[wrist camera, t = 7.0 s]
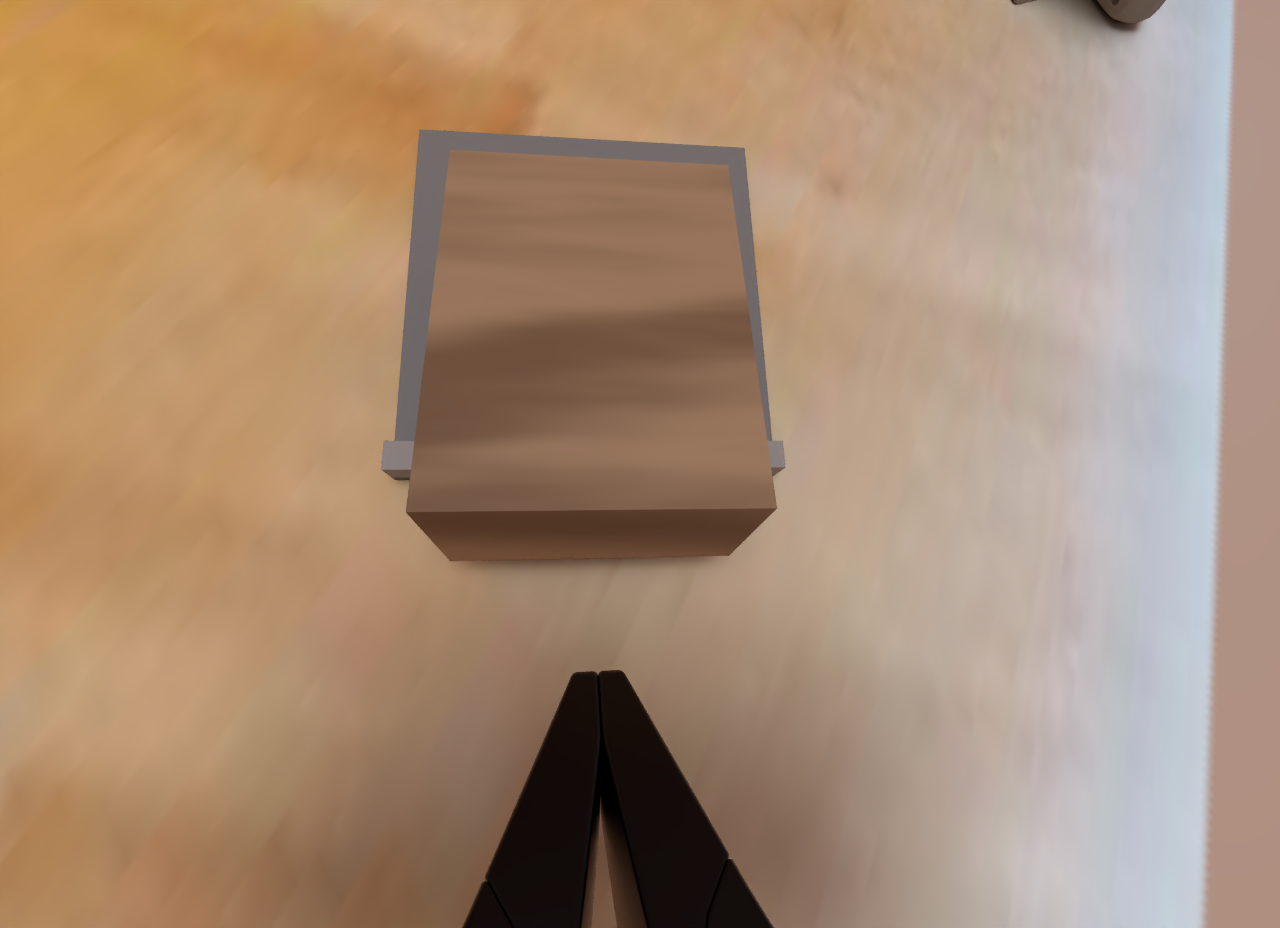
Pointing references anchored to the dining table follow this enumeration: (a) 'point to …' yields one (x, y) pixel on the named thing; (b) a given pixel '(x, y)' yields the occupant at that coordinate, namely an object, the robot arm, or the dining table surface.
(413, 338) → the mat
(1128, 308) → the dining table surface
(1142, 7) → the digital clock
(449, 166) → the walnut block
